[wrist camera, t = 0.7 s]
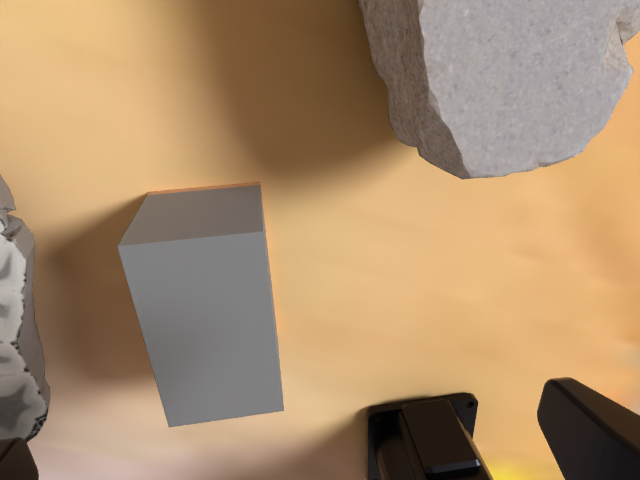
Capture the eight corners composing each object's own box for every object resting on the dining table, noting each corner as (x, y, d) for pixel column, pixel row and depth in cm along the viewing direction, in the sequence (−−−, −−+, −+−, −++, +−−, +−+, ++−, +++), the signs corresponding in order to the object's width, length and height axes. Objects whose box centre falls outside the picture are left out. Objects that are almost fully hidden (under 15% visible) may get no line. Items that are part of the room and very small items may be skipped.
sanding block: (277, 332, 22) (283, 410, 18) (185, 343, 22) (169, 427, 17) (260, 181, 18) (263, 231, 14) (149, 190, 18) (117, 246, 14)
